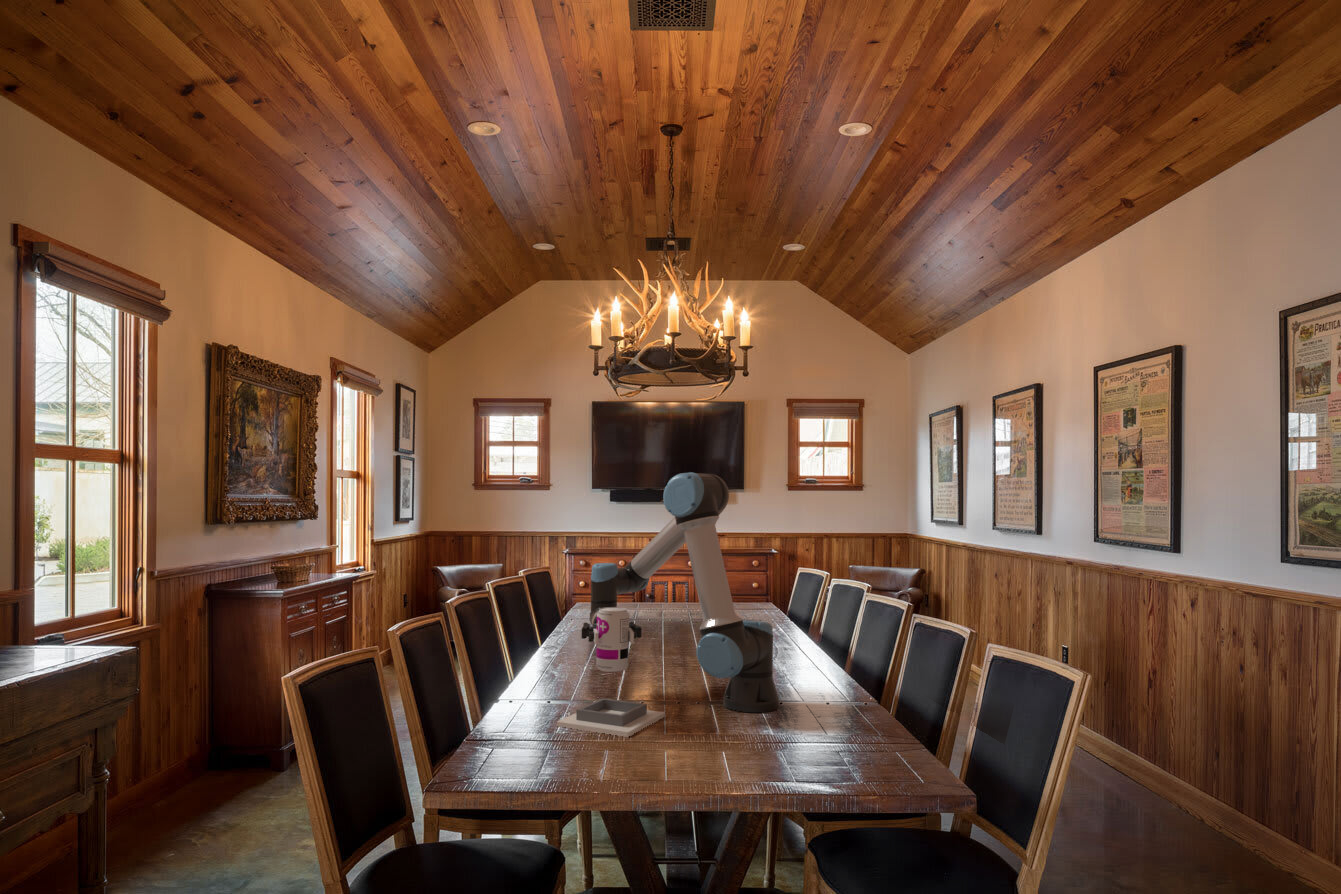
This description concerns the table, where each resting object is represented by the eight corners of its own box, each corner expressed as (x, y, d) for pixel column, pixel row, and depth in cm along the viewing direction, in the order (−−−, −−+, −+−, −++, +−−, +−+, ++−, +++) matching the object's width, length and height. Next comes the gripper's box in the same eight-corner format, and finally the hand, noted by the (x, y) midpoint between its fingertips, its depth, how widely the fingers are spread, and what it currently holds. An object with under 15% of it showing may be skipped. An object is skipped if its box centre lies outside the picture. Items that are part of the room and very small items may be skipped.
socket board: (664, 717, 213) (665, 702, 214) (627, 737, 195) (628, 721, 196) (598, 707, 222) (598, 693, 222) (556, 726, 204) (556, 711, 204)
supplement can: (603, 673, 204) (604, 612, 205) (591, 667, 211) (592, 608, 212) (633, 670, 208) (634, 610, 209) (620, 664, 215) (621, 606, 216)
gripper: (644, 636, 229) (656, 652, 207) (568, 638, 226) (571, 654, 203) (644, 609, 230) (656, 622, 207) (568, 610, 226) (572, 623, 204)
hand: (614, 638), depth 205 cm, fingers closed on supplement can, 8 cm apart
